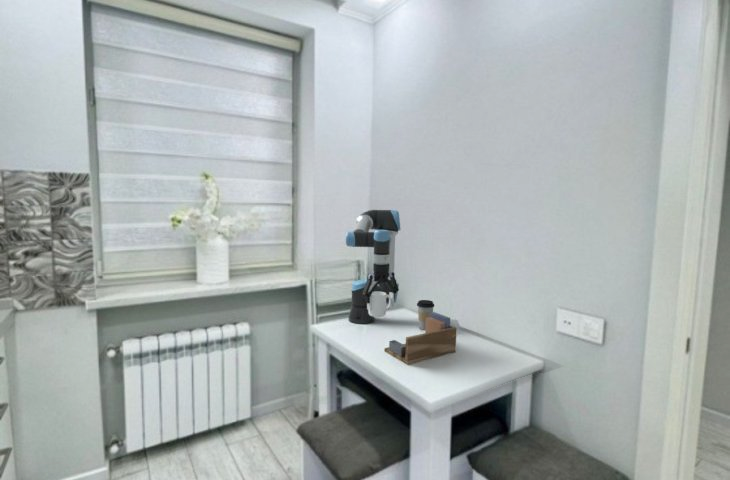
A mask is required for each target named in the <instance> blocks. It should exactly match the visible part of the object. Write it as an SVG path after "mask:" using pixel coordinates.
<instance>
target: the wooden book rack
mask: <svg viewBox="0 0 730 480" xmlns="http://www.w3.org/2000/svg"><path fill="white" fill-rule="evenodd" d="M402 344H403V345H405V346H406V354H405V356H402V357H401V356H399V355H398V354H396V353H394V352H392V351H390V350H389V346H388V347H384V349H383V350H384V353H386V354H388V355H390V356H392V357H393V358H395V359H396V360H398V361H400V362H402V363H403V364H405V365H407V366H408V365H411V364H415V363H416V364H417V363H420V362H424V361H427V360H431V359H436V358H439V357H443V356H447V355H450V354H454V353H456V352H457V351H456V349H457V327H455V326H453V325H451V324H450V328H447V329H442V330H438V331H433V332H428V333H425V332H424V333H420V334H415V335H409V336H406V337H405V343H402Z"/></svg>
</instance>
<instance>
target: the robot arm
mask: <svg viewBox="0 0 730 480" xmlns="http://www.w3.org/2000/svg"><path fill="white" fill-rule="evenodd" d="M400 220H401V219H400V213H399V211H398V210H392V209H371V210H370V209H369V210H367V211H364V212H362V213H361V214H359V216H358V217H357V218H356V225H355V227H354V229H353V231H352V230H351V231H347V232H346V234H345V245H346V247H350V248H373V258H372V259H373V265H372V267H373V268H372V269H373V274H367V279H366V278H365V279H359V280H355V281H353V282H352V284H351V308H350V311H349V314H348V319H347V320H348V321H349V322H350V323H353V324H359V325H365V324H366V325H367V324H370V323H373V322H375V318H376V317H373V316H370V315H369V312H368V310H370V311H371V310H372V297H371V294H372V292H375V291H379V292H385V293H386V295H390V296H391V307H392V308H393V307H394V306H395V303H396V302H397V299H398V294H399V293H398V292H399V290H400V289H399V287H400V286H399V285H400V284H399V283H397V279H396V277H395V258H396V257H395V256H396V254H395V253H396V236H397V235H398V234H399V231H401V222H400ZM370 230H374V231H370ZM386 305H389V298H388V297H387V298H386Z"/></svg>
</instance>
